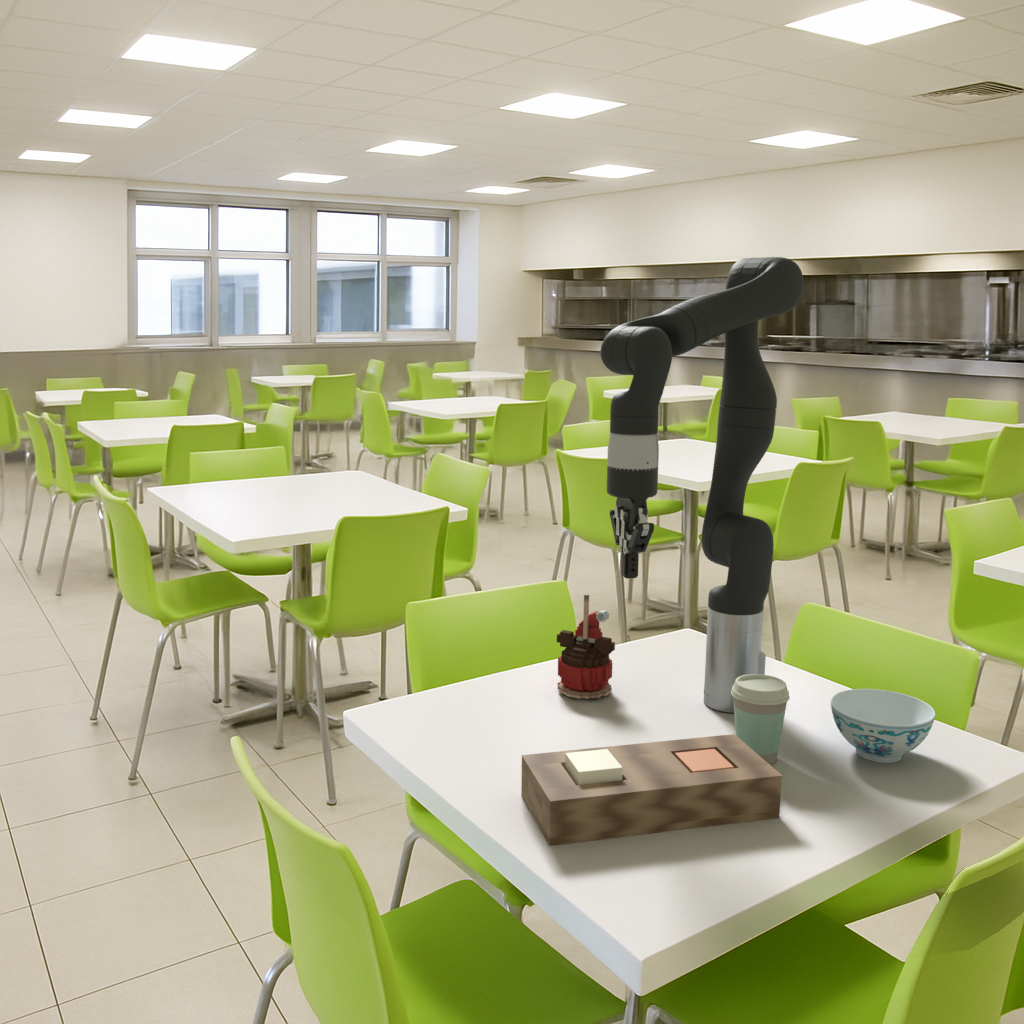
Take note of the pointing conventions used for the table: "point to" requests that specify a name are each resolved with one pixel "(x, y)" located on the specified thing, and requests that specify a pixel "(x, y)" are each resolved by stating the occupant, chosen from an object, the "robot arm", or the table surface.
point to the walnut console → (650, 791)
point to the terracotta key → (703, 760)
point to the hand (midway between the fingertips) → (629, 576)
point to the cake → (586, 657)
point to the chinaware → (881, 722)
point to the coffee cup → (760, 712)
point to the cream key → (592, 767)
